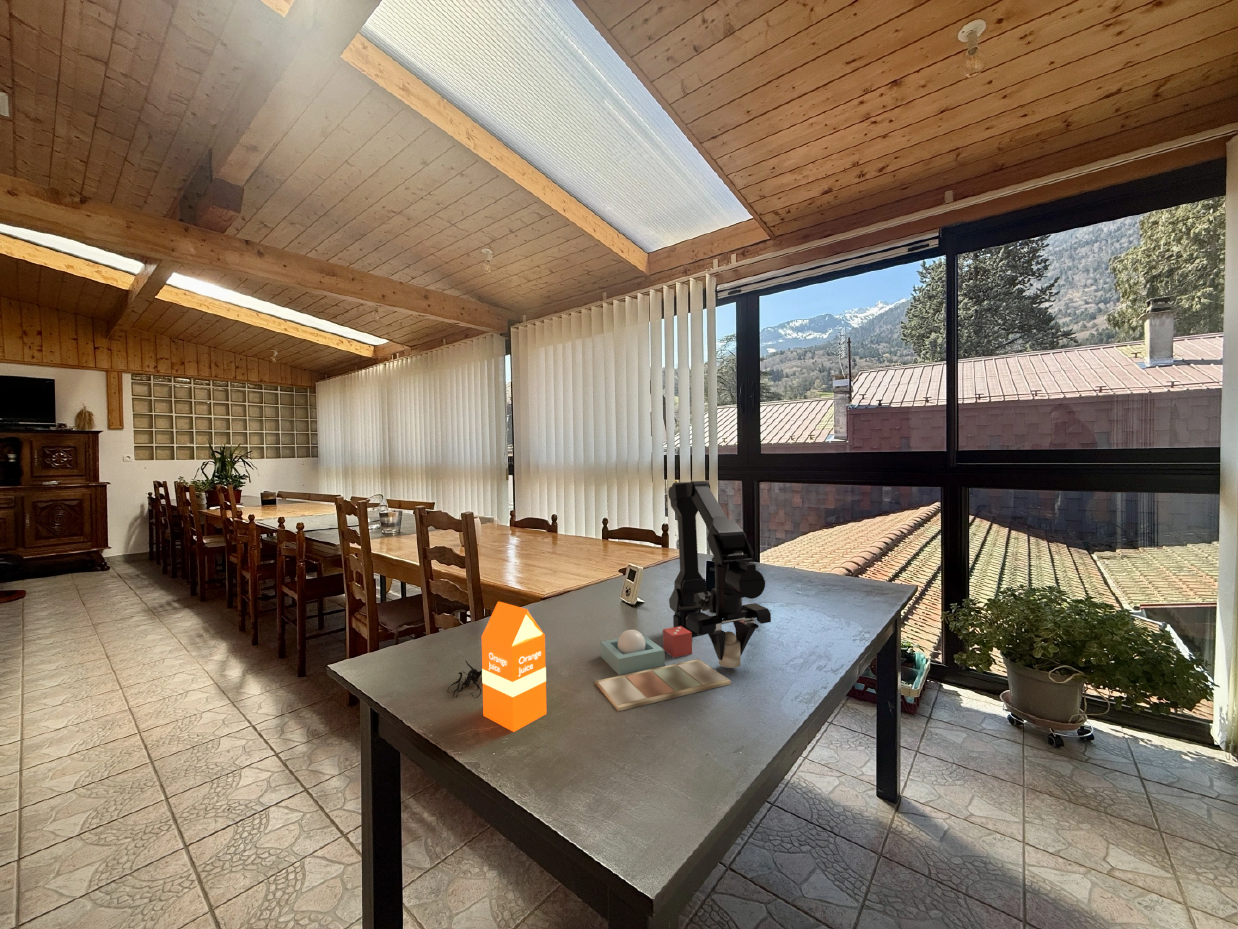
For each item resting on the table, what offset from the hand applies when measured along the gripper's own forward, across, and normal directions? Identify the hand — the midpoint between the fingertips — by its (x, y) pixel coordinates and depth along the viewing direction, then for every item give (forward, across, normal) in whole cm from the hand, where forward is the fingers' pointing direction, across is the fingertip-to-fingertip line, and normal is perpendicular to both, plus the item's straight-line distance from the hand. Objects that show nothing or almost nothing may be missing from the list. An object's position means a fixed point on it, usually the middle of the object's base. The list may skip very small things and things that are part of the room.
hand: (729, 657), depth 106 cm
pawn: (+1, 0, 0) cm, 1 cm away
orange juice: (+3, +46, -1) cm, 47 cm away
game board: (+2, +16, 0) cm, 17 cm away
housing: (+2, +18, -13) cm, 22 cm away
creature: (+3, +54, -14) cm, 55 cm away
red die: (+2, +6, -13) cm, 14 cm away
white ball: (+2, +18, -13) cm, 22 cm away
